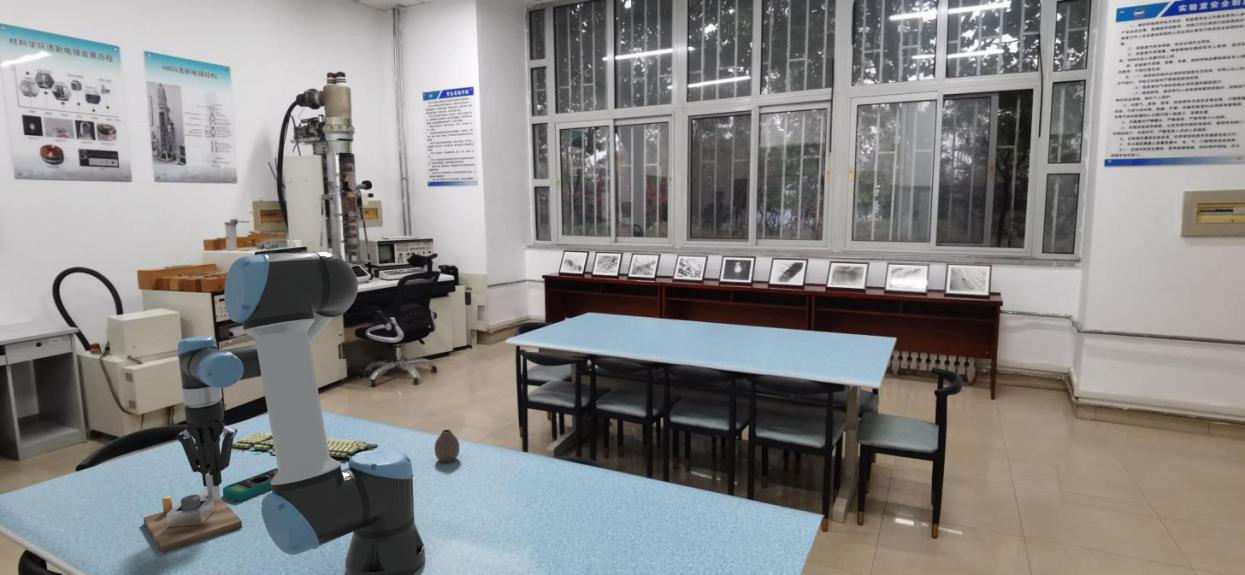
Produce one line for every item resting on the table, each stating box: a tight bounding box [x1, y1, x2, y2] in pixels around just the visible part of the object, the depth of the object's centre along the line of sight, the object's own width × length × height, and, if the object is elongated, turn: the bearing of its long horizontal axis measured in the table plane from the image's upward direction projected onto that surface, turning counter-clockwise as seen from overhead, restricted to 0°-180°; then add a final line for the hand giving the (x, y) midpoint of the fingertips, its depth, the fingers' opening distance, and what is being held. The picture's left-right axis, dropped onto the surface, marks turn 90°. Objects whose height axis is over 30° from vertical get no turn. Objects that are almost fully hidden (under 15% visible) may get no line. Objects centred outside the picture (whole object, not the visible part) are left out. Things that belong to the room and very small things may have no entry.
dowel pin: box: [161, 495, 174, 514], centre depth 146 cm, size 2×2×4 cm
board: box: [143, 494, 243, 554], centre depth 143 cm, size 18×15×6 cm
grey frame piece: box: [166, 487, 217, 527], centre depth 145 cm, size 13×7×3 cm, turn 10°
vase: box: [433, 428, 460, 463], centre depth 180 cm, size 7×7×9 cm
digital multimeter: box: [222, 467, 278, 503], centre depth 162 cm, size 7×15×3 cm, turn 150°
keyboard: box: [232, 432, 379, 464], centre depth 189 cm, size 45×15×2 cm, turn 76°
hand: (214, 498), depth 149 cm, fingers closed
